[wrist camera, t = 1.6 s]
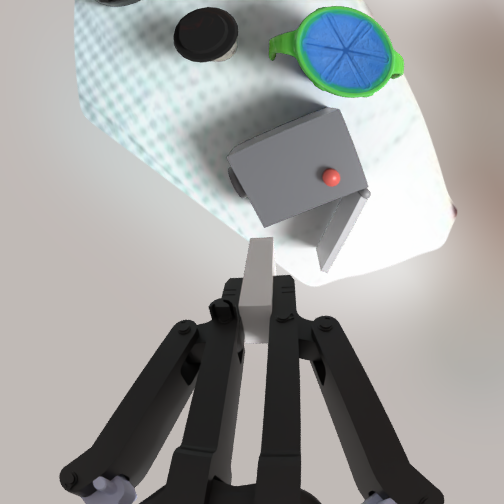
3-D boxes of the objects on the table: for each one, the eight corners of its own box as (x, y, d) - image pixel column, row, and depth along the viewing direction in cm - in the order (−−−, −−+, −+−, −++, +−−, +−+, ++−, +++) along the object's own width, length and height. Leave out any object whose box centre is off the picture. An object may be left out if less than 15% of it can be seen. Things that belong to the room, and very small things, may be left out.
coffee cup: (256, 52, 29) (249, 37, 20) (211, 78, 31) (189, 73, 22) (228, 16, 26) (213, -8, 17) (185, 42, 28) (157, 28, 19)
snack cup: (387, 45, 25) (420, 34, 17) (376, 110, 31) (408, 117, 23) (275, 17, 25) (275, -9, 17) (264, 85, 31) (261, 80, 22)
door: (315, 248, 43) (320, 270, 38) (352, 174, 36) (364, 188, 31) (324, 251, 43) (330, 274, 38) (362, 179, 36) (375, 193, 31)
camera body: (226, 151, 36) (214, 164, 30) (327, 107, 32) (341, 109, 25) (257, 209, 41) (254, 234, 34) (353, 171, 36) (370, 189, 30)
